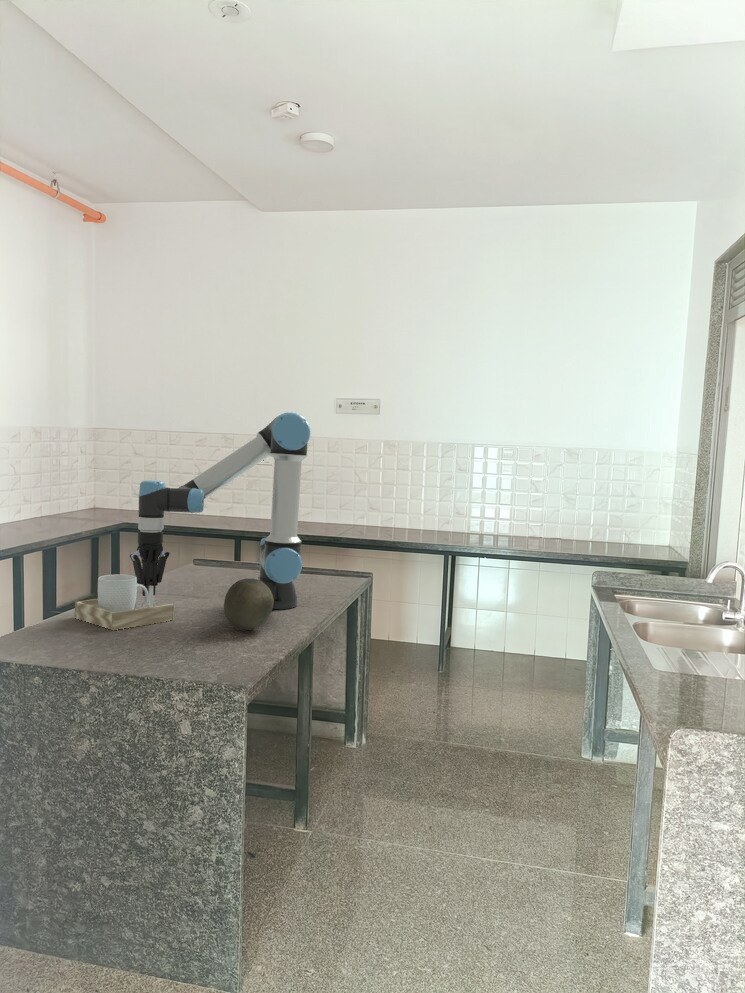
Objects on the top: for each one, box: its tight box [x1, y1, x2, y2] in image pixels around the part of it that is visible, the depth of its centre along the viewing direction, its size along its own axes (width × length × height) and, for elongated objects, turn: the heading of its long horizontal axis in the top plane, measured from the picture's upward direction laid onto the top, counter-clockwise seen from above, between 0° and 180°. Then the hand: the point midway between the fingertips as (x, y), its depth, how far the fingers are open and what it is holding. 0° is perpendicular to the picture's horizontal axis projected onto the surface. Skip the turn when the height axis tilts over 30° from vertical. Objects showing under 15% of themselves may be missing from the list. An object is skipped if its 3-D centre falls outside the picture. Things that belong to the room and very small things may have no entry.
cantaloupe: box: [223, 578, 274, 631], centre depth 214 cm, size 14×14×15 cm
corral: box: [74, 598, 175, 631], centre depth 220 cm, size 21×20×5 cm
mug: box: [97, 573, 149, 613], centre depth 220 cm, size 15×11×13 cm
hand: (148, 606), depth 227 cm, fingers closed
